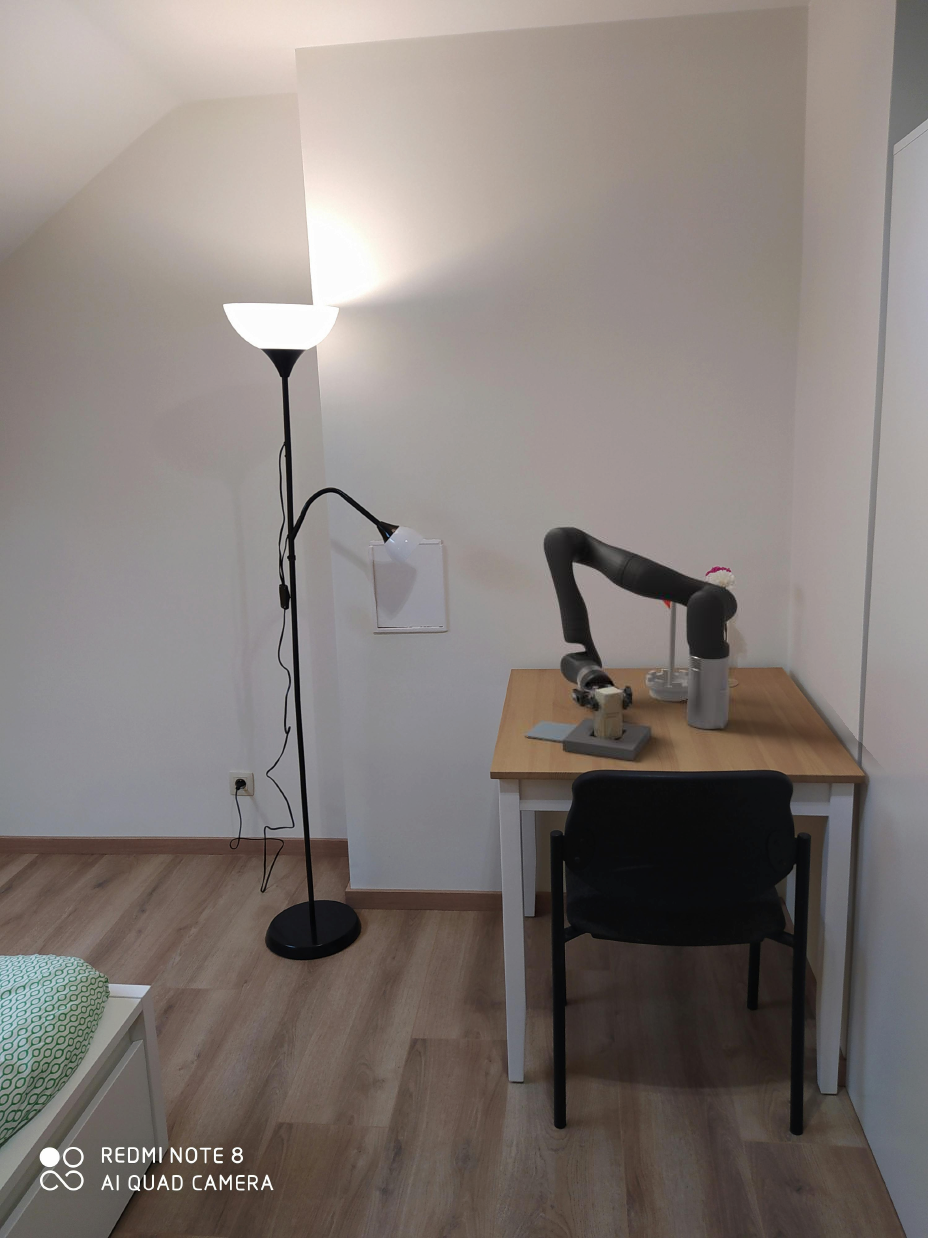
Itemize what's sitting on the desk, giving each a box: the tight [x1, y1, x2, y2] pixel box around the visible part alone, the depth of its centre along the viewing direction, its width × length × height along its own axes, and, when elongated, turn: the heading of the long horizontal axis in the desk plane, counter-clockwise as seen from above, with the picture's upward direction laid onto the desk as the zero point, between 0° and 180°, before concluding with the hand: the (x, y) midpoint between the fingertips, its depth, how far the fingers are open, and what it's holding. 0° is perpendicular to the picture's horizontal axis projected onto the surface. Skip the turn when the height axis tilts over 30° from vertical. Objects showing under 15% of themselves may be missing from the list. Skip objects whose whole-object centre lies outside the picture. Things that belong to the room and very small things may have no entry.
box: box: [594, 686, 624, 740], centre depth 207 cm, size 5×4×11 cm
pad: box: [524, 720, 578, 744], centre depth 216 cm, size 10×11×1 cm
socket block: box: [562, 717, 652, 761], centre depth 208 cm, size 16×16×2 cm
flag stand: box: [645, 600, 689, 702], centre depth 239 cm, size 13×13×30 cm
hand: (611, 706), depth 204 cm, fingers closed on box, 6 cm apart
